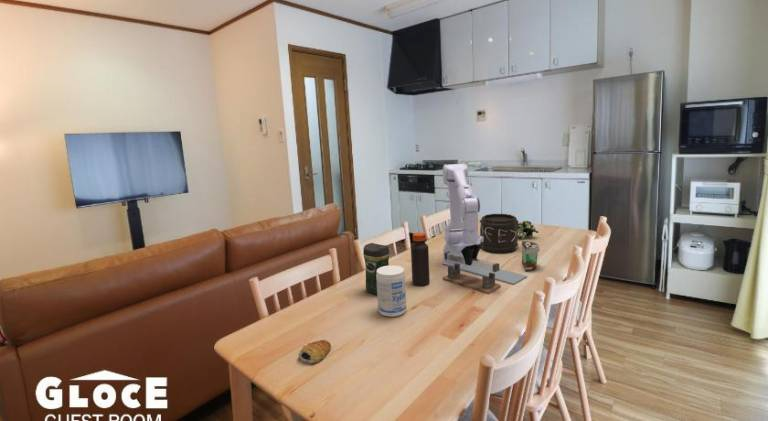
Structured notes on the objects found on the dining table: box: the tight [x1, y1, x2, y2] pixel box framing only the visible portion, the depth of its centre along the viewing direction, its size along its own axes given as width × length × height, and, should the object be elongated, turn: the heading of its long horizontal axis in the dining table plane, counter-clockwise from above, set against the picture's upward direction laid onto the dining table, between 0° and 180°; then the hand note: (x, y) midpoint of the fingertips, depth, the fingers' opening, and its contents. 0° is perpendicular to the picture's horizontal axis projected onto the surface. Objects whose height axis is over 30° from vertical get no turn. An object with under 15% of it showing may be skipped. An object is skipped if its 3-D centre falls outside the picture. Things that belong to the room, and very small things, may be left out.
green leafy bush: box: [518, 220, 539, 241], centre depth 203 cm, size 11×11×12 cm
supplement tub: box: [376, 264, 407, 318], centre depth 130 cm, size 10×10×15 cm
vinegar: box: [410, 232, 430, 287], centre depth 151 cm, size 7×7×20 cm
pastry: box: [297, 339, 332, 364], centre depth 108 cm, size 9×7×4 cm
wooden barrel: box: [479, 213, 520, 254], centre depth 188 cm, size 18×18×16 cm
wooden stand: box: [442, 263, 501, 295], centre depth 150 cm, size 21×8×6 cm, turn 42°
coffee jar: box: [362, 242, 390, 295], centre depth 146 cm, size 10×8×19 cm
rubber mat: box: [460, 265, 528, 286], centre depth 159 cm, size 26×10×1 cm, turn 42°
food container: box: [521, 240, 541, 272], centre depth 162 cm, size 12×6×10 cm, turn 168°
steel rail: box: [445, 251, 500, 272], centre depth 148 cm, size 23×2×2 cm, turn 42°
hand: (470, 263), depth 149 cm, fingers closed on steel rail, 2 cm apart
